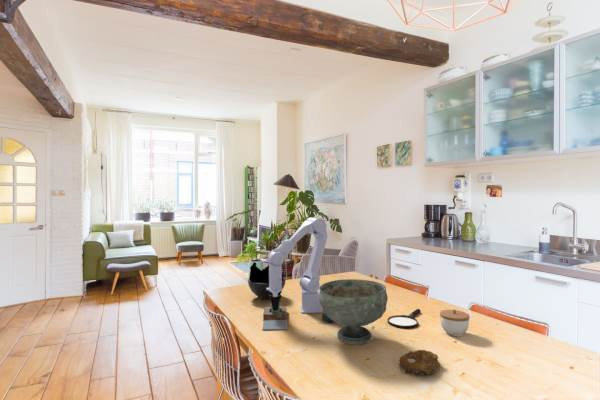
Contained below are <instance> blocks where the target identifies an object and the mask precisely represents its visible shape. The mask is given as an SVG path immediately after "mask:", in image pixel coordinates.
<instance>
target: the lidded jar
mask: <svg viewBox="0 0 600 400" xmlns="http://www.w3.org/2000/svg"><path fill="white" fill-rule="evenodd" d="M439 319H440V325H441V327H442V328H443V331H445V332H446V334H447V335H449V336H452V337H462V336H463V335H465V333H466V332H467V331H468V329H469V325H470V314H468V313H467V312H466V311H465V312H464V311H463V310H457V309H442V310H441V311H440V312H439Z"/></svg>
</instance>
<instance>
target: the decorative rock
mask: <svg viewBox="0 0 600 400" xmlns="http://www.w3.org/2000/svg"><path fill="white" fill-rule="evenodd" d="M438 359H439V355H438V354H437V353H434V352H433V351H430V350H425V349H420V350H415V351H408V352H407V353H405V354H403V355H402V356H401V357H399V358H398V362H399V363H398V365H399V367H400V368H401V369H402V370H403V371H404V374H405V375H409V374H410V375H411V377H413V376H415V374H416V375H417V376H424V375H429V376H431V375H434V374H435V373H436V372H437V371H439V370H440V369H441V363H440V362H439V360H438Z"/></svg>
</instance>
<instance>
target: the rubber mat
mask: <svg viewBox="0 0 600 400" xmlns="http://www.w3.org/2000/svg"><path fill="white" fill-rule="evenodd" d="M287 330H288V319H287V320H263V323H262V331H287Z"/></svg>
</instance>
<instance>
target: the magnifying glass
mask: <svg viewBox="0 0 600 400" xmlns="http://www.w3.org/2000/svg"><path fill="white" fill-rule="evenodd" d="M420 314H421V309H420V308H416V309H415V310H413V311H412V312H411V313H410V314H408V315H405V314H401V315H400V314H399V315H391V316H389V317H388V318H387V324H388V325H390V326H391V327H393V328H397V329H405V330H406V329H407V330H408V329H410V330H411V329H415V328H417V327H418V326H419V322H418V319H416V318H415V317H416V316H418V315H420Z"/></svg>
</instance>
